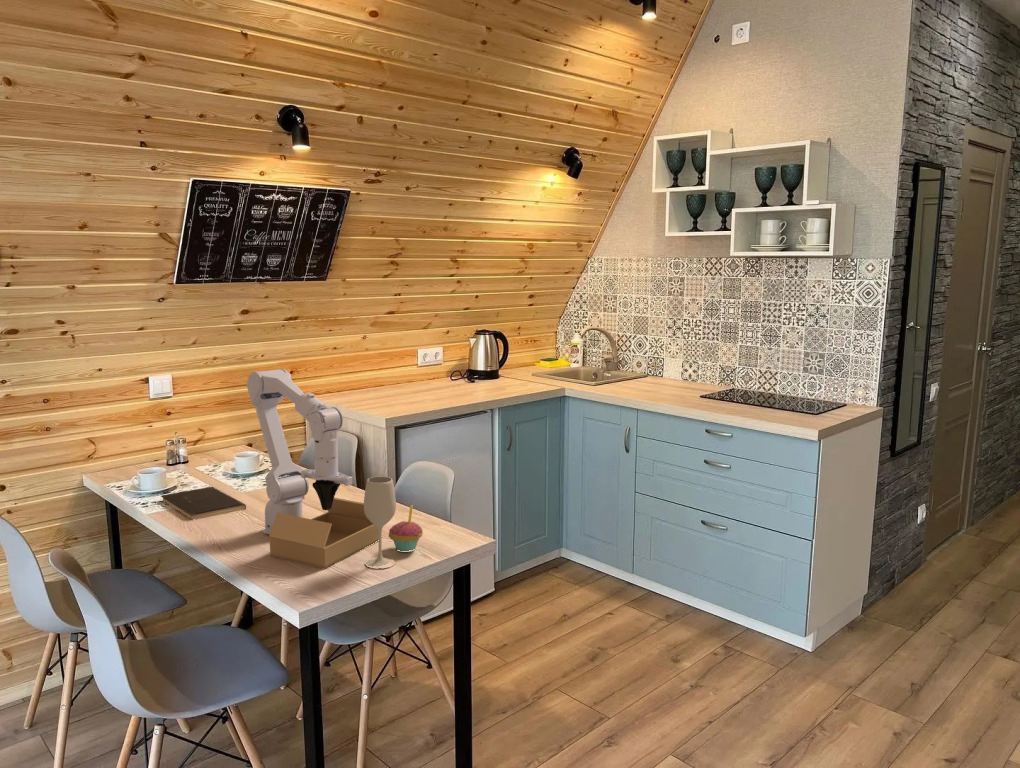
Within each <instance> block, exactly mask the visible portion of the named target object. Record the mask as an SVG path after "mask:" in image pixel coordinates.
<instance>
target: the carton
mask: <svg viewBox="0 0 1020 768" xmlns="http://www.w3.org/2000/svg"><path fill="white" fill-rule="evenodd" d="M311 519H312V520H317V521H321V522H326V523H331V524H332V526H331V529H330V532H329V535H328V538H327V541H326V545H325V548H324V549H323V548H319V547H314V546H310V545H305V544H301V543H296V542H292V541H287V540H283V539H278V538H274V537H270V536H269V555H270V557H273V558H276V559H281V560H286V561H290V562H293V563H298V564H303V565H306V566H311V567H315V568H320V569H323V568H324V570H326V569H328V568H330V567H332V566H334V565H336V564H338V563H339V561H340V562H342V561H343V559H344V560H346V559H347V558H350V557H352V556H353V555H355V554H357V553H358V552H360V550H361V551H363V550H365V549H366V548H365V547H367V546H369V545H371V544H373V543H374V544H376V543H377V542H376V541H378V540H379V532H378V528H377V526H375V525H374V524H373V523H372V522H370V521H369V520H365V519H360V518H355V517H350V516H345V515H340V514H335V513H330V512H328V511H327V512H324V513H323V514H320V515H318V516H315V517H314V518H311ZM375 542H376V543H375ZM378 542H379V541H378ZM374 544H373V545H374ZM371 546H372V545H371ZM369 547H370V546H369ZM364 548H365V549H364ZM367 548H368V547H367ZM362 549H363V550H362ZM345 558H346V559H345ZM341 560H342V561H341ZM337 562H338V563H337ZM335 563H336V564H335ZM331 565H332V566H331Z"/></svg>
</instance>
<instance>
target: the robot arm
mask: <svg viewBox="0 0 1020 768" xmlns="http://www.w3.org/2000/svg"><path fill="white" fill-rule="evenodd" d="M246 388H247V391H248V395H249V398H250V402H251V405H252V406H254V407H255V411H256V415H257V419H258V422H259V426H260V429H261V433H262V436H263V439H264V442H265V443H264V444H265V446H266V450H267V454H268V457H269V460H270V464H271V469H270V470H269V471H268V473H267V474H266V476H265V477H264V480H265V482H266V483H265V484H266V494H267V497H268V499H269V500H267V503H266V504H265V509H264V526H265V527H264V528H265V530H262V533H263V534H265V535H270V532H271V529H272V526H273V523H274V521H275V518H276V515H277V512H278V513H282V514H287V515H292V516H297V517H302V518H303V501H304V500H305V496H306V495H307V494H308V493H309V489H310V483H309V482H310V481H309V479H312V480H315V481H314V482H313V483H312V488H313V489H314V491H315V493H316V495H317V497H318V498H319V499H318V500H319V502H320V505H321V509H322V511H328V510H329V509H331V508H332V503H333V499H334V498H335V497H336V493H337V491H338V489H339V487H340V486H341V485H344V487H345V486H346V487H348V486H350V485H353V476H349V475H347V474H344V473H342V472H339V430H340V429H342V427H343V421H344V418H343V414H342V412H341V411H340V409H339V408H338V407H336V406H332V407H331V406H327V405H326V403H323V402H322V401H321V400H320V399H318V398H317V397H316V395H315V394H314V393H313V392H306V393H305V392H303V391H302V389H301V388H300V387H298V385H297V384H296V383H294V382H293V380H292V374H291V373H290V372H288V371H287V370H286V368H279V369H271V370H270V369H269V370H262V371H257V370H255V371H254V370H253V371H251V372H250V374H249V375H248V378H247V382H246ZM284 398H286V399H287V400H289V401H290V402H292V403H293V404H294V409H295V411H296V412H297V413H298V414H300V415H301V416H302V417H303V418H304V419H305V420H307V422H308V425H309V428H310V430H311V437H312V439H313V441H314V444H313V447H314V449H313V450H314V451H313V452H314V454H313V455H314V469H309V468H305V469H303V467H301V466H300V465H298V464H296V463H294V462H293V461H292V457H291V453H290V451H289V445H288V442H287V439H286V436H285V432H284V429H283V426H282V423H281V419H280V416H279V413H278V409H277V406H278V404H279V403H280V402H281V401H283V399H284Z"/></svg>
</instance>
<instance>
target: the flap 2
mask: <svg viewBox="0 0 1020 768" xmlns="http://www.w3.org/2000/svg"><path fill="white" fill-rule="evenodd" d="M327 512H330V513H335V514H340V515H345V516H350V517H355V518H360V519H365V520H369V519H368V518H367V517H366V515H365V513H364V502H361V501H360V502H359V501H355V500H351V499H344V498H341V497H340V498H339V497H334V499H333V503H332V508H331V509H329V510H327Z"/></svg>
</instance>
